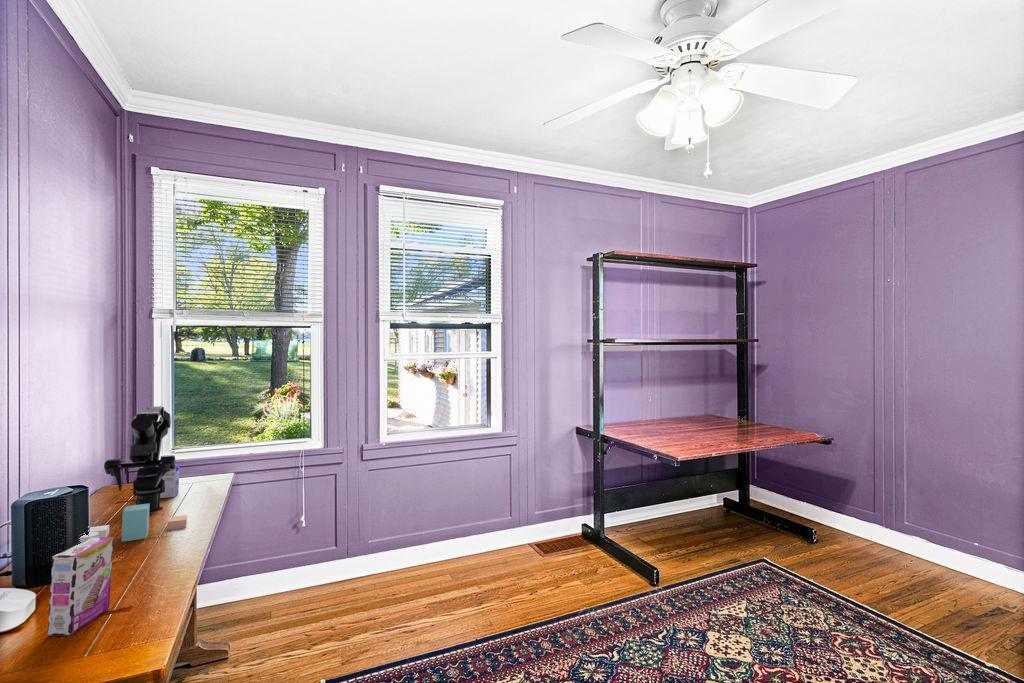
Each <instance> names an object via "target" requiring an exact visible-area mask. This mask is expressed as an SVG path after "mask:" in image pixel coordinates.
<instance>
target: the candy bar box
mask: <svg viewBox="0 0 1024 683" xmlns="http://www.w3.org/2000/svg"><path fill="white" fill-rule="evenodd" d="M79 543H80V542H79ZM77 544H78V543H77ZM77 544H76V545H74V546H72V547H70V548H67V549H65V550H63V551H61V552H59V553H57V554H55V555H53V556H51V558H52V560H51V575H50V592H49V601H48V602H49V604H48V605H49V606H48V620H47V621H48V624H47V636H48V637H49V636H51V637H52V636H53V637H54V636H58V637H59V636H63V637H64V636H66V637H67V636H71V635H73V634H75V633H76V632H78V631H79V630H80V629H81V628H84V627H85V626H86V625H87V624H89V623H90V622H92V621H93V620H94V619H96V618H98V617H99V616H100V615H102V614H104V613H105V612H106V611H108V610H109V609H110V600H111V583H112V582H111V581H112V567H113V566H112V565H113V549H114V537H111V536H110V537H109V536H107V537H99V538H90V539H88V540H86V541H84V542H82V543H80V544H78V545H77Z"/></svg>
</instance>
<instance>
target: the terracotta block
mask: <svg viewBox="0 0 1024 683" xmlns="http://www.w3.org/2000/svg"><path fill="white" fill-rule="evenodd" d="M187 524H188V515H186V514H185V515H177V516H170V517H168V520H167V531H171V530H178V529H185V528H187Z"/></svg>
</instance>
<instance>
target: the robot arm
mask: <svg viewBox="0 0 1024 683" xmlns="http://www.w3.org/2000/svg"><path fill="white" fill-rule="evenodd" d="M171 425H172V420H171V414H170V413H168V411H167V410H165V407H164V406H162V405H159V406H158V405H157V406H148V407H147V410H145V412H137V413H136V415H134V417H133V419H132V421H131V422H130V426H131V429H132V435H133V437H134V442H133V445H131V446H130V451H129V452H130V453H129V460H130V461H124V462H123V461H122V459H121V458H113V459H110V458H109V459H108V458H107V460H105V461H104V464H103V468H104V471H105V474H106V475H110V476H111V477H115V479H116V483H117V487H118V491H120V492H121V491H122V489H123V475H124V474H123V469H130V468H131V469H133V468H134V469H135V468H138V470H137V474H136V477H135V478H134V479H133V484H132V485H133V486H132V487H133V488H132V489H133V497H136V499H135V505H140V504H149V503H150V508H149V513H153V512H156V511H158V510H163V509H164V508H163V506H161V498H160V494H162V493H163V492H165V480H163V476H164V475H165V474H166V472H169V471H170V470H171V469H175V466H176V464H177V463H176V462H177V460H176V455H174V454H168V455H161V448H162V442H163V438H165V436H166V435H168V433H169V429H170V428H171V427H172V426H171ZM160 455H161V456H160Z"/></svg>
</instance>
